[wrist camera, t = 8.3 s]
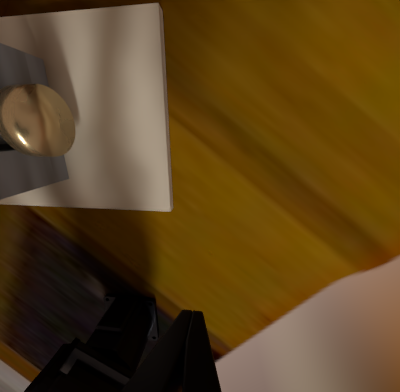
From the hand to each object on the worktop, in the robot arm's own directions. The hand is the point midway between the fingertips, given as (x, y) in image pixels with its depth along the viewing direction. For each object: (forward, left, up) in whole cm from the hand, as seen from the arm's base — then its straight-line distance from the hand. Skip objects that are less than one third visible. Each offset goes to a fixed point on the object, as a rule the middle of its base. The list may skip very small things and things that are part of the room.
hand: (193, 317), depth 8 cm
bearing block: (+8, +15, -12) cm, 21 cm away
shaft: (+8, +18, -10) cm, 22 cm away
